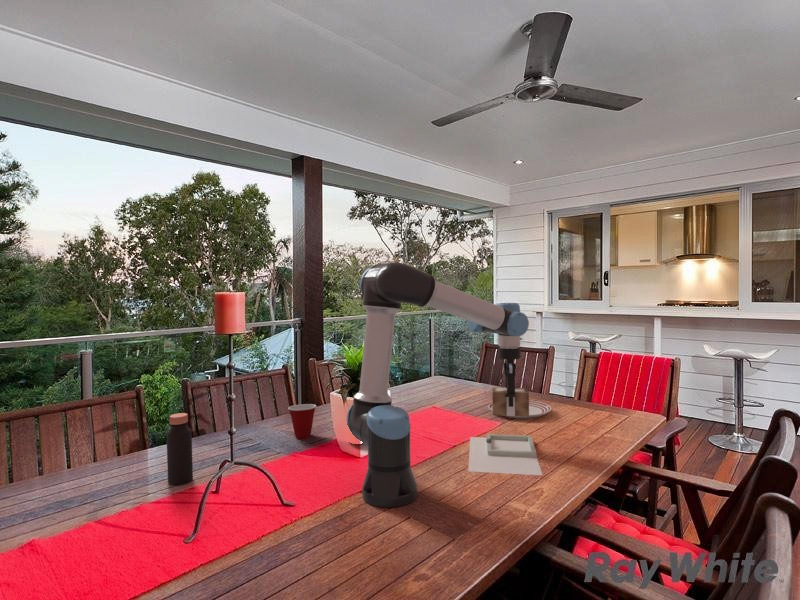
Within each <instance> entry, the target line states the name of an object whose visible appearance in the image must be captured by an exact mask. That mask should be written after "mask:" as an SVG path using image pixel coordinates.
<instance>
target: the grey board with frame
mask: <svg viewBox="0 0 800 600" xmlns="http://www.w3.org/2000/svg"><path fill="white" fill-rule="evenodd" d="M469 438H470V439H469V457H468V468H467V470H468V471H467V472H470V473H471V472H472V473H488V474H489V473H490V474H507V475H512V474H513V475H524V476H525V475H527V476H543V471H542V469H541V466H540V463H539V460H538V456H537V454H538V453H537V451H536V447H535V445H534V444H535V443H534V442H533V438H532V435H519V434H517V435H516V434H494V433H493V434H492V433H490V434H489V433H487V434H486V437H475V436H471V437H469Z"/></svg>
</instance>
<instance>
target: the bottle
mask: <svg viewBox="0 0 800 600" xmlns="http://www.w3.org/2000/svg"><path fill="white" fill-rule="evenodd" d="M188 415H189V414H188V413H185V412H180V413H179V412H178V413H173V414H171V415H169V426H170V429H169V430H168V431H167V433H166V460H167V461H166V463H167V484H169V485H170V486H173V487H175V486H177V487H179V486H183V485H186V484H189V483H191V482H192V480H193V479H194V473H193V472H194V469H193V439H192V438H193V437H192V435H193V434H192V429H191V428H190V427H189V426H188V422H189V416H188Z"/></svg>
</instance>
